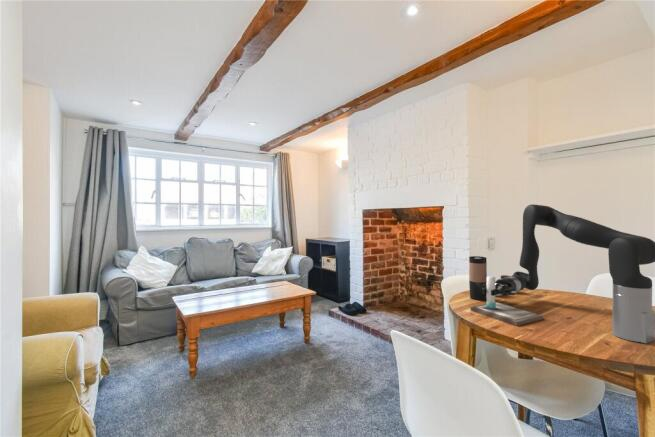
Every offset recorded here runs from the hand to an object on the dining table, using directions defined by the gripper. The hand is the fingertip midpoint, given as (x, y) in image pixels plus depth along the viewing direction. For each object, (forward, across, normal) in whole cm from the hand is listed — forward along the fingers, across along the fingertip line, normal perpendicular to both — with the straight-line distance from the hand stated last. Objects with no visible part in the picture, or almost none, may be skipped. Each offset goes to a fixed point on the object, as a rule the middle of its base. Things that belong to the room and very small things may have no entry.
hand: (487, 292), depth 125 cm
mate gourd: (-43, -12, +9) cm, 45 cm away
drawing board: (-5, +4, +9) cm, 11 cm away
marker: (-3, 0, +7) cm, 8 cm away
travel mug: (-19, -14, +9) cm, 25 cm away
